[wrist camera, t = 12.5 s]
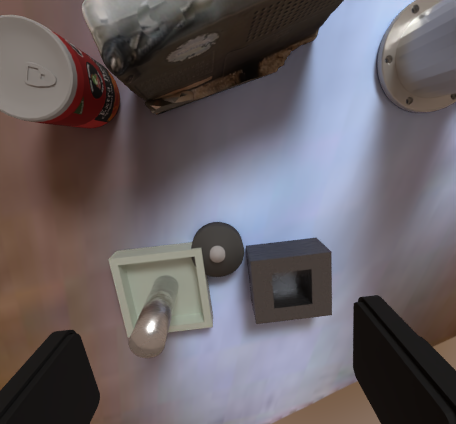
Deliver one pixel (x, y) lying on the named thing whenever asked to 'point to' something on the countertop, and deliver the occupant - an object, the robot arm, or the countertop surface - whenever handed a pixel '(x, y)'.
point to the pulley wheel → (219, 248)
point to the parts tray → (155, 267)
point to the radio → (198, 42)
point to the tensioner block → (290, 280)
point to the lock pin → (154, 318)
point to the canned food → (51, 78)
